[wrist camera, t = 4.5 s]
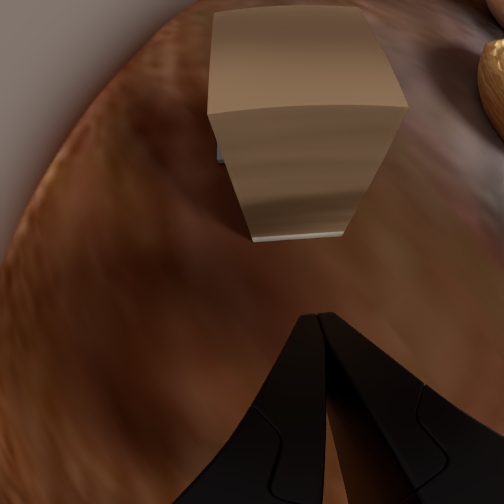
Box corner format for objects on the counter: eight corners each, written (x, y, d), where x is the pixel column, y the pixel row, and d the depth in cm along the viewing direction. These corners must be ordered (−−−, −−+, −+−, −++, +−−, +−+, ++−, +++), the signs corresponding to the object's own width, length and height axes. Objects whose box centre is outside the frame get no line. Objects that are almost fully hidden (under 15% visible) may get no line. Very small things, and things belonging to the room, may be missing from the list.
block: (341, 236, 15) (408, 107, 6) (253, 242, 16) (207, 114, 6) (329, 159, 17) (358, 7, 7) (249, 164, 17) (213, 12, 7)
